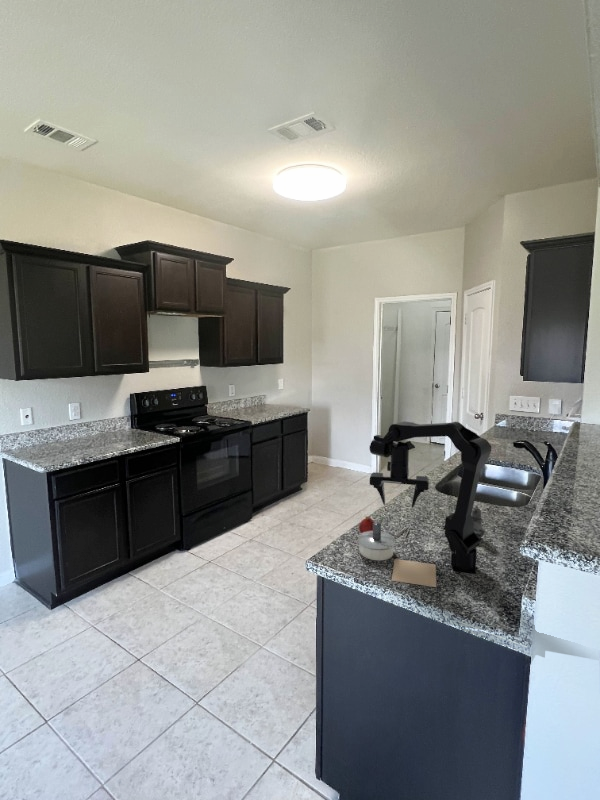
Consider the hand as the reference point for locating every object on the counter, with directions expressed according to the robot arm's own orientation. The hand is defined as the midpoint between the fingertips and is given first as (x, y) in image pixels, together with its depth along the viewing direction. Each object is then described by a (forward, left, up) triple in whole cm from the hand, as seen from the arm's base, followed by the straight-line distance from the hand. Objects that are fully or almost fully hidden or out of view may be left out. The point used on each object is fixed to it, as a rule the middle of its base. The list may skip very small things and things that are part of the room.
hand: (398, 505), depth 142 cm
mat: (-6, +19, -12) cm, 23 cm away
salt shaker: (-25, -8, -13) cm, 29 cm away
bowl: (+6, +10, -12) cm, 17 cm away
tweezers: (-2, -8, -13) cm, 16 cm away
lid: (+6, +10, -8) cm, 14 cm away
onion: (+10, +1, -13) cm, 16 cm away
